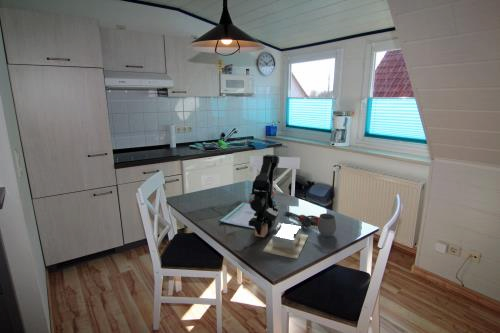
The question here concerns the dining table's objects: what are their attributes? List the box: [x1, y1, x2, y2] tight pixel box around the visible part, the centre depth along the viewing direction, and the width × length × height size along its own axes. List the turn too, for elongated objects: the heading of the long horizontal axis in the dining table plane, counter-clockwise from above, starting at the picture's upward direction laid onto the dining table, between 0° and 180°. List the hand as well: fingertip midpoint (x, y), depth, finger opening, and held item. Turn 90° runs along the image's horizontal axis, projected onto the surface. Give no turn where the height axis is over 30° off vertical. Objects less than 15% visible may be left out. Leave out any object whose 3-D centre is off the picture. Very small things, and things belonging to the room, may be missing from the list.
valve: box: [283, 211, 320, 229], centre depth 168 cm, size 6×26×15 cm
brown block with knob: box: [254, 222, 269, 238], centre depth 149 cm, size 5×5×7 cm
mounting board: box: [262, 233, 309, 260], centre depth 143 cm, size 22×16×1 cm
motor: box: [271, 222, 302, 251], centre depth 143 cm, size 17×10×8 cm, turn 157°
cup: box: [316, 213, 337, 238], centre depth 150 cm, size 10×9×10 cm
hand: (261, 232), depth 149 cm, fingers closed on brown block with knob, 5 cm apart
